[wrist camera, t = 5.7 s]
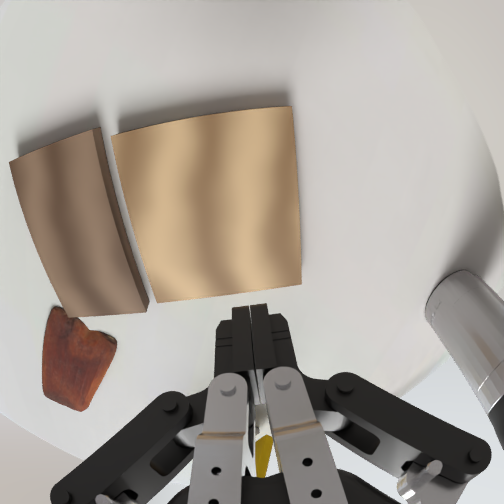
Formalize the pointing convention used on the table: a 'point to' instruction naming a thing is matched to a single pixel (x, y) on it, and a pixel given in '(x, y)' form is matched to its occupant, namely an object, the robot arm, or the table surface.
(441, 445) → the robot arm
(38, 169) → the walnut board
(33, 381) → the table surface
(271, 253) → the light wood board
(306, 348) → the table surface
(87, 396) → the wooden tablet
